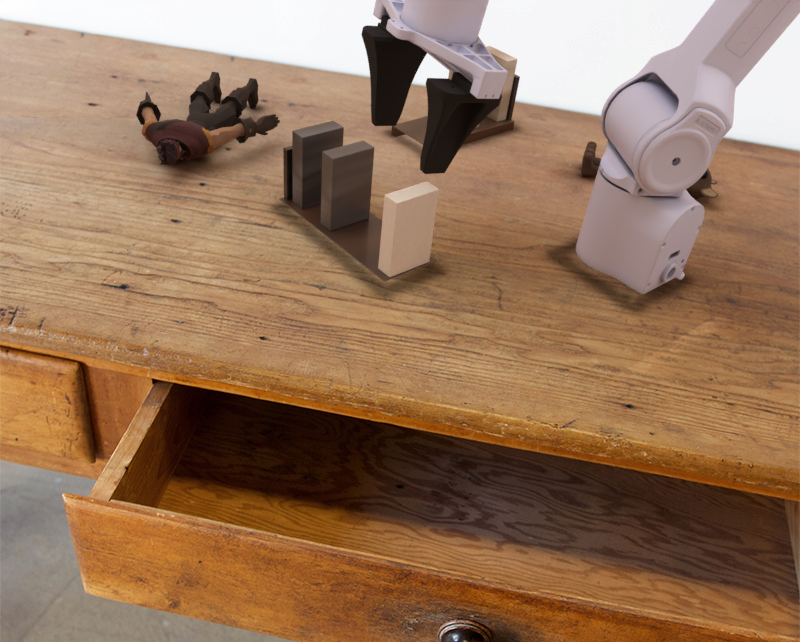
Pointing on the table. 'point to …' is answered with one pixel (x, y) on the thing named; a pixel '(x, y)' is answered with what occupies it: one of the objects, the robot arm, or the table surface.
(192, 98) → the figurine
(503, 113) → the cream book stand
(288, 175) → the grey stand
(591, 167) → the bear figurine
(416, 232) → the cream wooden block
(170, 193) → the table surface
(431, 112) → the robot arm
